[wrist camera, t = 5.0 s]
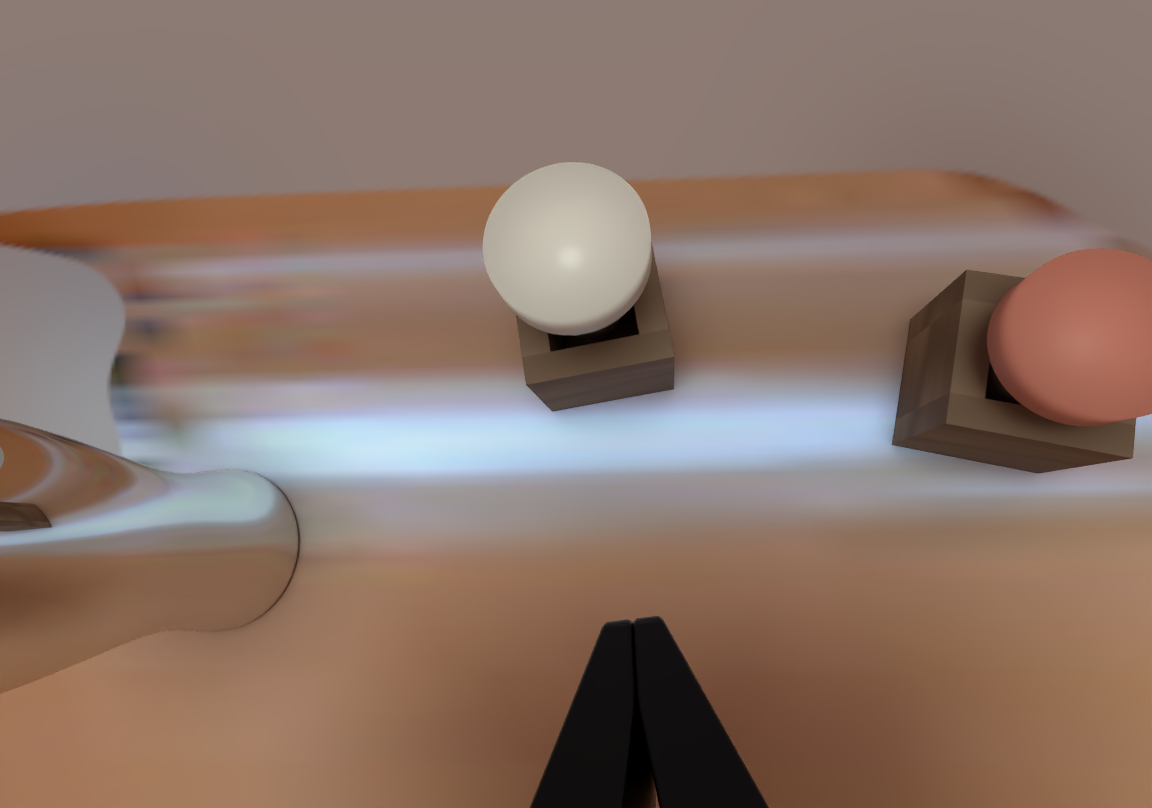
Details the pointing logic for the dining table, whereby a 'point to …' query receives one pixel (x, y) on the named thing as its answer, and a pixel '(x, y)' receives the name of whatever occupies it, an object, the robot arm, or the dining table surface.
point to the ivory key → (569, 249)
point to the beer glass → (126, 551)
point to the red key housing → (958, 386)
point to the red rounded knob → (1076, 339)
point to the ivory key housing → (602, 359)
